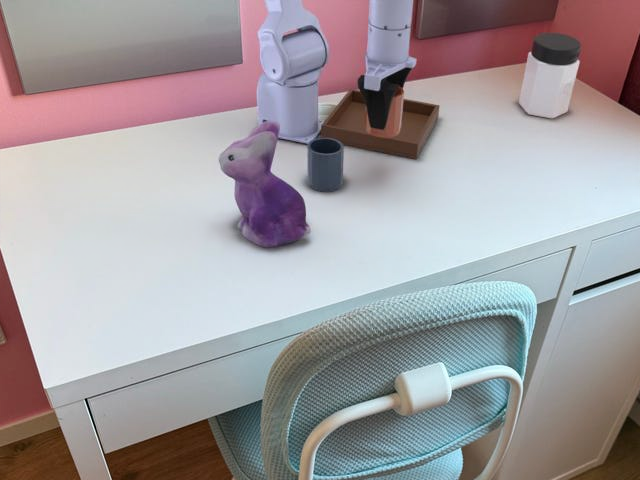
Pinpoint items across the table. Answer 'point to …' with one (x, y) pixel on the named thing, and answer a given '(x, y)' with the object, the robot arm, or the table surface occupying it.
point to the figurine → (263, 190)
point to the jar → (550, 75)
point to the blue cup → (325, 164)
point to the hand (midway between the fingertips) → (383, 119)
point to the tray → (351, 131)
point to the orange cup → (390, 118)
